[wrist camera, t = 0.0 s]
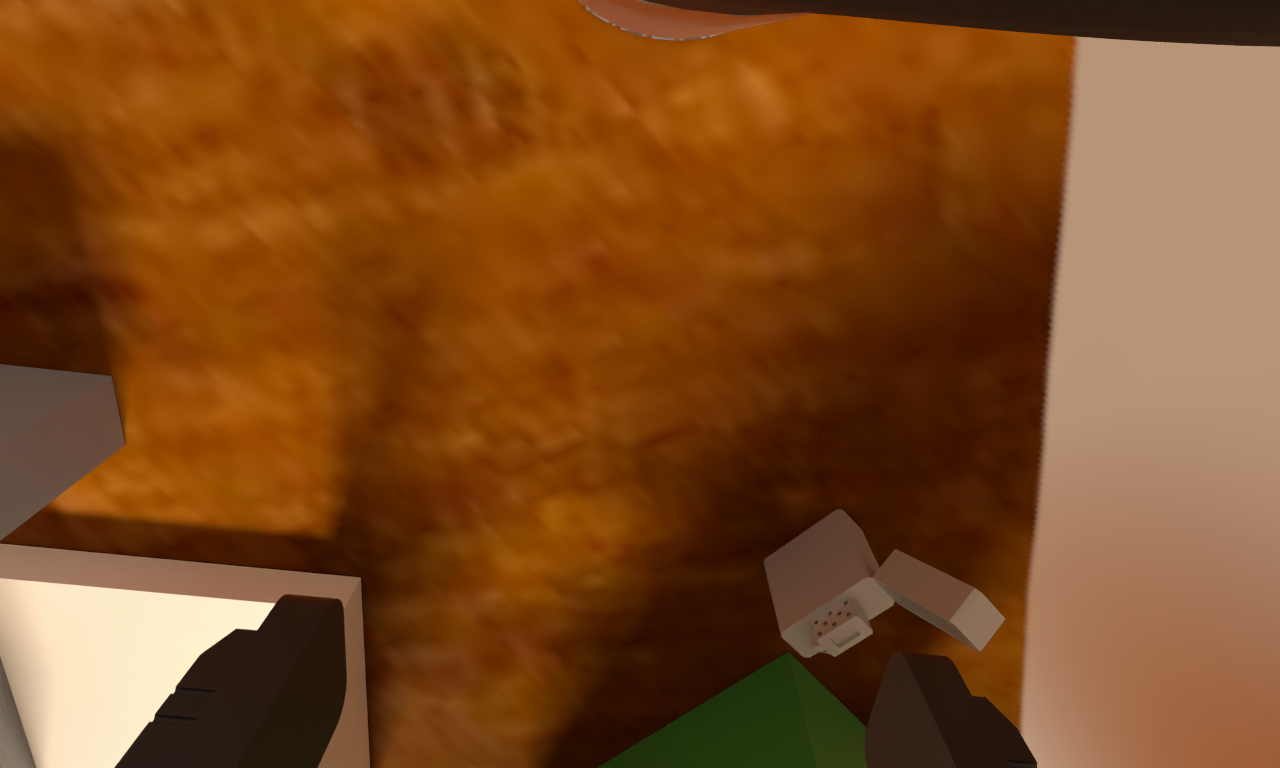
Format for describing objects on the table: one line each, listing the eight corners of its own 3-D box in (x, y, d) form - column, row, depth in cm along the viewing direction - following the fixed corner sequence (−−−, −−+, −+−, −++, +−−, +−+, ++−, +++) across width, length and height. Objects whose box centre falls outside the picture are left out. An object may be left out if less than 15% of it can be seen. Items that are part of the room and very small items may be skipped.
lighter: (785, 585, 32) (829, 744, 24) (760, 561, 31) (797, 717, 24) (924, 492, 30) (1017, 635, 22) (900, 465, 29) (987, 602, 22)
